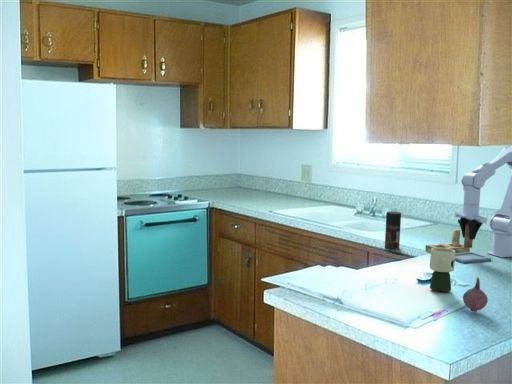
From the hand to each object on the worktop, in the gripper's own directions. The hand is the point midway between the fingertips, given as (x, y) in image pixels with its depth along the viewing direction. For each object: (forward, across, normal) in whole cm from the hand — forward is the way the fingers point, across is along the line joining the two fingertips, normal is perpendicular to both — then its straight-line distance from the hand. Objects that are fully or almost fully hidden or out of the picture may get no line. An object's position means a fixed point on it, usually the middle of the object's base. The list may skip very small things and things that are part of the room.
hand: (468, 238), depth 208 cm
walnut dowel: (+3, 0, 0) cm, 3 cm away
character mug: (+8, +30, -40) cm, 51 cm away
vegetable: (+8, +49, -45) cm, 67 cm away
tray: (+8, 0, 0) cm, 8 cm away
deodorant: (+8, -25, -17) cm, 31 cm away
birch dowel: (+8, -12, +5) cm, 15 cm away
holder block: (+8, -12, +1) cm, 15 cm away
